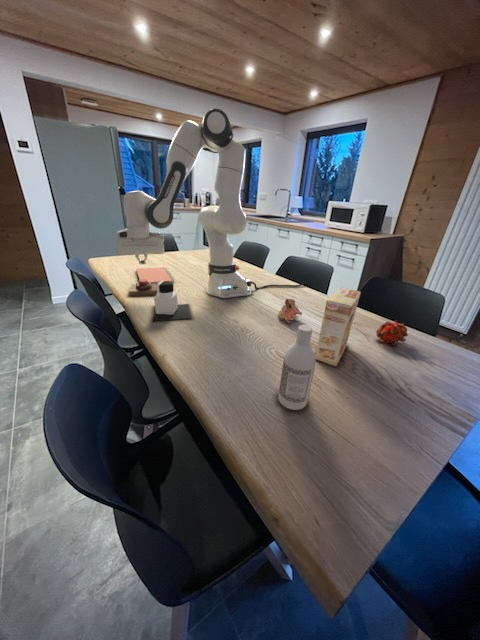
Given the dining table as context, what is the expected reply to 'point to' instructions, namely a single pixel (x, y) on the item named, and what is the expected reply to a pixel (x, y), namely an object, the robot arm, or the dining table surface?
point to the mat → (178, 315)
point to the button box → (143, 289)
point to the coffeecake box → (336, 325)
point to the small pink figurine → (289, 310)
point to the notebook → (154, 275)
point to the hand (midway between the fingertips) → (142, 264)
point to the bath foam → (297, 371)
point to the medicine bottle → (166, 298)
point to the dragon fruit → (392, 332)
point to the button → (143, 282)
